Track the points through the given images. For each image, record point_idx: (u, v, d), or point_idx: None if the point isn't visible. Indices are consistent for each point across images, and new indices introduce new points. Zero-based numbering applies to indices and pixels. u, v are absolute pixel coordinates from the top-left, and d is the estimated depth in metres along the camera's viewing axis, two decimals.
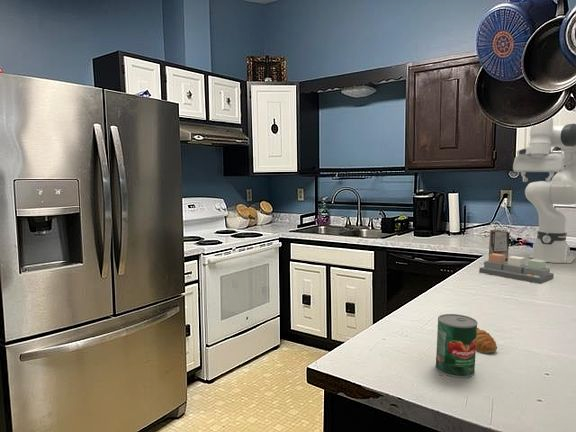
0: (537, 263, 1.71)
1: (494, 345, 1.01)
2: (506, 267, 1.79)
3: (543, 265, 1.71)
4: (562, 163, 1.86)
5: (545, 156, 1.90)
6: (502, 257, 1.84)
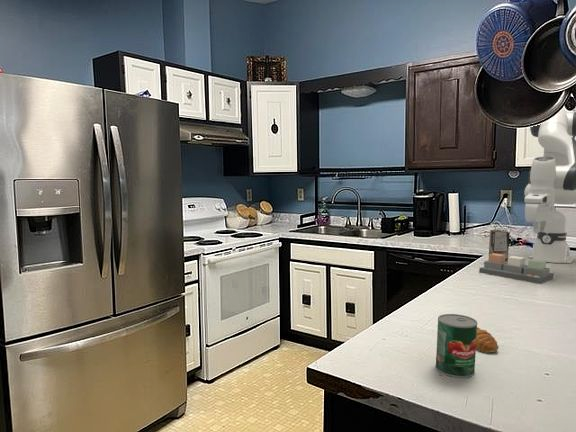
0: (537, 263, 1.71)
1: (495, 345, 1.01)
2: (506, 267, 1.79)
3: (543, 265, 1.71)
4: None
5: None
6: (502, 257, 1.84)
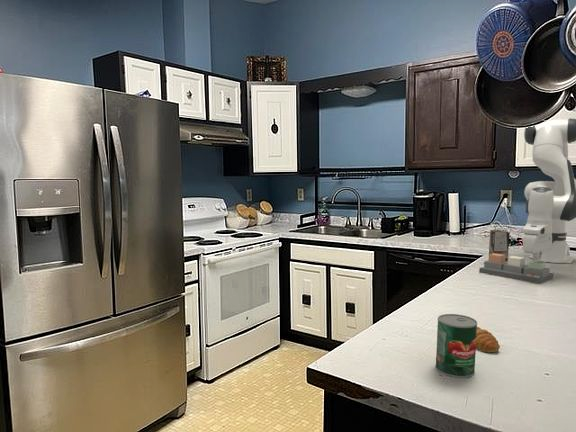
0: (537, 265, 1.71)
1: (497, 344, 1.01)
2: (506, 267, 1.79)
3: (543, 267, 1.71)
4: None
5: None
6: (502, 257, 1.84)
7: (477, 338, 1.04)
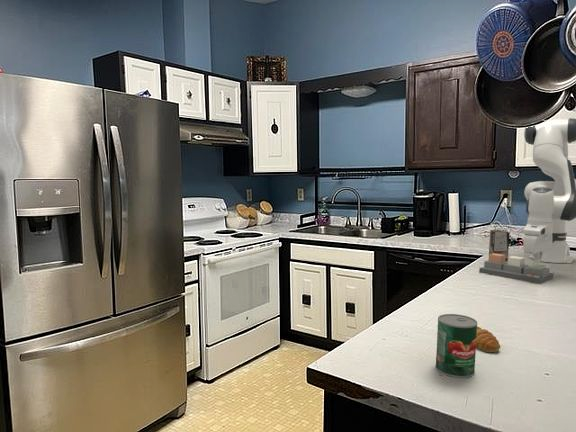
0: (537, 268, 1.71)
1: (497, 344, 1.01)
2: (506, 267, 1.79)
3: None
4: None
5: None
6: (502, 257, 1.84)
7: (478, 338, 1.04)
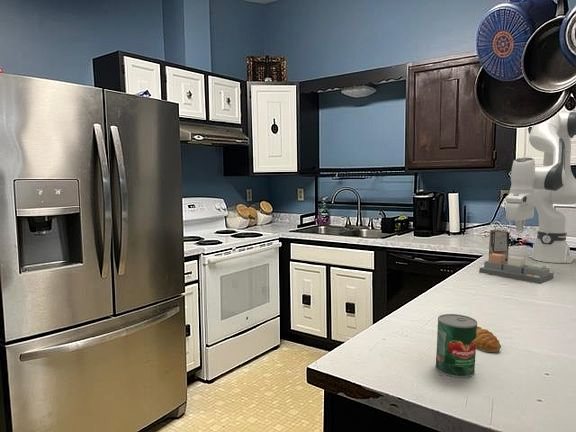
0: (537, 268, 1.71)
1: (498, 344, 1.02)
2: (506, 267, 1.79)
3: None
4: None
5: None
6: (502, 257, 1.84)
7: (478, 338, 1.04)
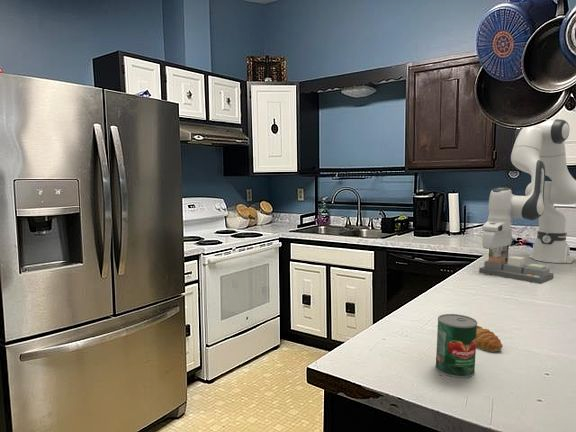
0: (537, 268, 1.71)
1: (500, 343, 1.02)
2: (506, 267, 1.79)
3: None
4: None
5: (506, 231, 1.85)
6: (502, 260, 1.84)
7: (480, 337, 1.04)
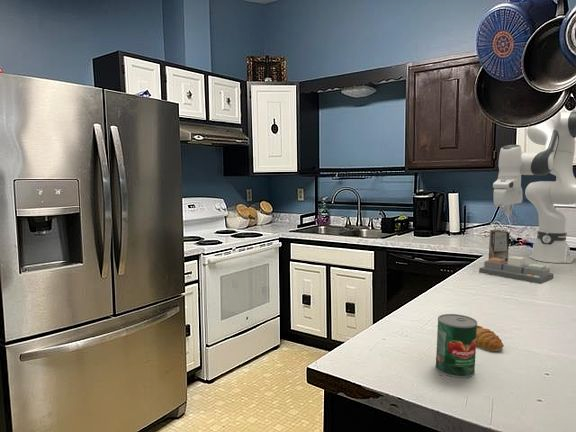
0: (537, 268, 1.71)
1: (501, 343, 1.02)
2: (506, 267, 1.79)
3: None
4: None
5: (516, 188, 1.85)
6: (502, 262, 1.84)
7: (481, 337, 1.04)
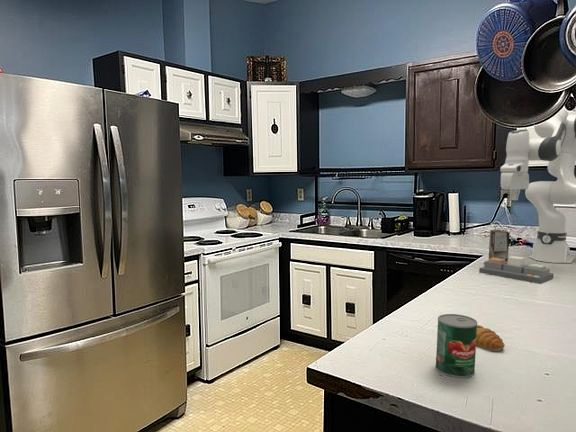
0: (537, 268, 1.71)
1: (502, 343, 1.02)
2: (506, 267, 1.79)
3: None
4: None
5: (523, 174, 1.85)
6: (502, 262, 1.84)
7: (482, 337, 1.05)
